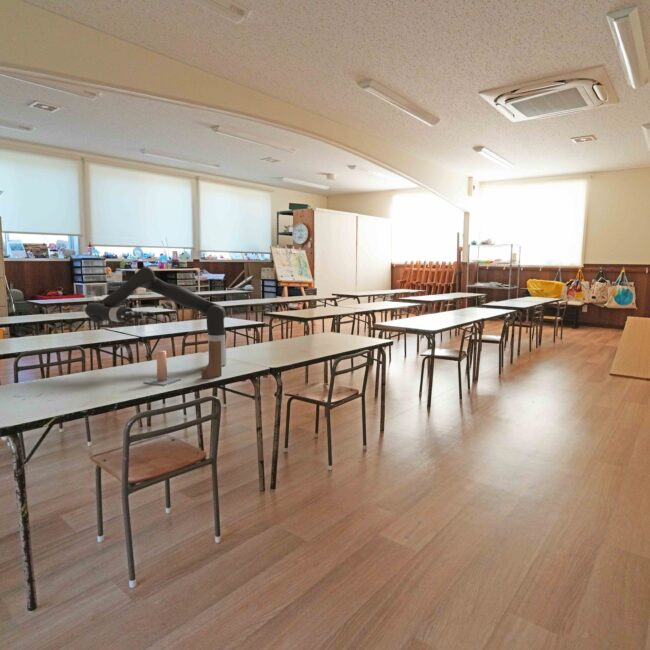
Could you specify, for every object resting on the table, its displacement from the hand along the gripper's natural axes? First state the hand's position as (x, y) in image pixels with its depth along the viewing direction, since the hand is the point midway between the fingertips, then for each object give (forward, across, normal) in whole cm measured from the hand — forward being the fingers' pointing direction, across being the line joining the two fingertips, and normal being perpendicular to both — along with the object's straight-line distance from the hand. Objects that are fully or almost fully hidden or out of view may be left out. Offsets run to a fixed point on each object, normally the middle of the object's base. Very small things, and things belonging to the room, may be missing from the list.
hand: (147, 315), depth 229 cm
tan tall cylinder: (+14, -8, +29) cm, 33 cm away
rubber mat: (+14, -8, +30) cm, 34 cm away
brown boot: (+30, +9, +30) cm, 43 cm away
